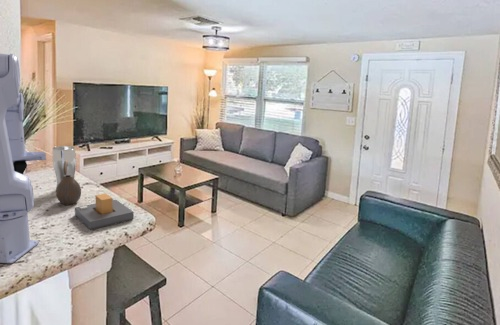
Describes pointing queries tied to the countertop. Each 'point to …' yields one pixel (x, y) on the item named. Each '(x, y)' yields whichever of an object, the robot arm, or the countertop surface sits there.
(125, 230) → the countertop surface
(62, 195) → the vase
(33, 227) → the countertop surface
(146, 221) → the countertop surface
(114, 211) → the socket
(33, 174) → the countertop surface
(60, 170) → the metal tumbler
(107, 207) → the plug
